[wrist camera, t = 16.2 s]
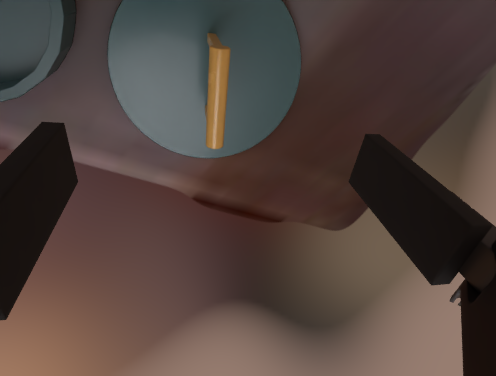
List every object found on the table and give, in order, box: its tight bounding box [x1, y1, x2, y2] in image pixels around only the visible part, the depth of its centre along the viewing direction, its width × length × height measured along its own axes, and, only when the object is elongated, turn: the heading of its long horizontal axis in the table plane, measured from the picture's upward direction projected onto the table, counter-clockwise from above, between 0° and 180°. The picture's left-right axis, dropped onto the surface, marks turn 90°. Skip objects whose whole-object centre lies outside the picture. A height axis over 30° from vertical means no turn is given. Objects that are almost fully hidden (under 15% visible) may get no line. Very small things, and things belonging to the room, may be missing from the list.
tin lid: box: [107, 0, 301, 158], centre depth 24 cm, size 17×17×8 cm
